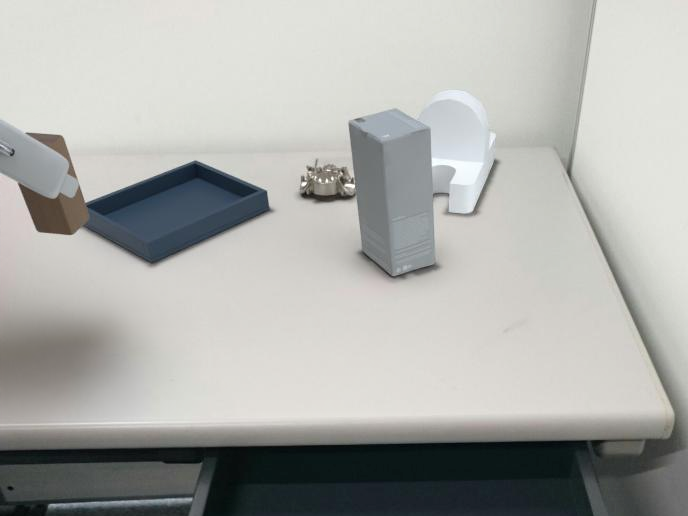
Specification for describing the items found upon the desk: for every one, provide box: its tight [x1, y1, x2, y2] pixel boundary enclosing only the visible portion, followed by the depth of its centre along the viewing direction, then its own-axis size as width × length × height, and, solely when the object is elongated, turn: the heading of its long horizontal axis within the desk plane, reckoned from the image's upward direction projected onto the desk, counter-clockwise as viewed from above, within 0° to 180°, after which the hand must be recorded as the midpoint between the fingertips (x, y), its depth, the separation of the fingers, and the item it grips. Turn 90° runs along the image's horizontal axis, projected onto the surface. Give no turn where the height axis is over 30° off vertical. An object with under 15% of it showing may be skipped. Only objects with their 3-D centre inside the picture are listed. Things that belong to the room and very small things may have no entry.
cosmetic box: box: [348, 107, 436, 277], centre depth 85 cm, size 8×7×16 cm
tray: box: [83, 159, 271, 264], centre depth 98 cm, size 16×20×3 cm
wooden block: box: [17, 132, 90, 236], centre depth 69 cm, size 4×4×8 cm
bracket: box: [416, 89, 497, 215], centre depth 102 cm, size 19×10×11 cm, turn 166°
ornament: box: [298, 163, 356, 197], centre depth 102 cm, size 8×7×4 cm
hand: (54, 178), depth 69 cm, fingers closed on wooden block, 5 cm apart
